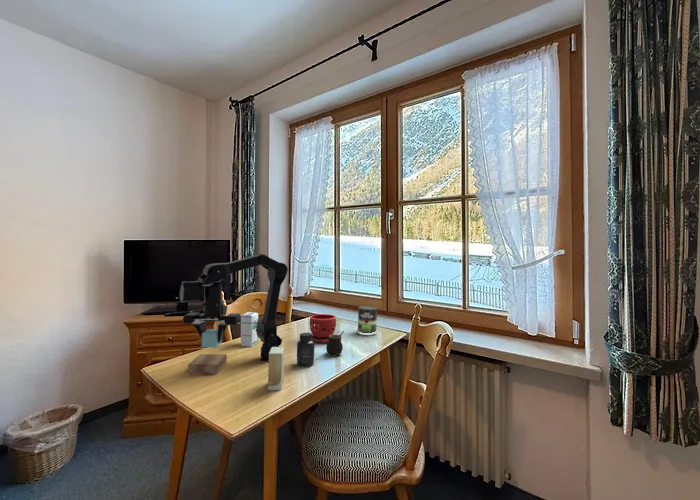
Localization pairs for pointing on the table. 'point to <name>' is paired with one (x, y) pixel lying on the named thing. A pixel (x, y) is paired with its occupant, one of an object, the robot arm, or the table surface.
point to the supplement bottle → (305, 350)
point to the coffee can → (367, 319)
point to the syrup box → (249, 329)
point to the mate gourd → (334, 345)
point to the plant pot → (322, 327)
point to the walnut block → (207, 364)
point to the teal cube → (210, 338)
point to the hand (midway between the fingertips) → (211, 342)
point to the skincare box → (276, 368)
